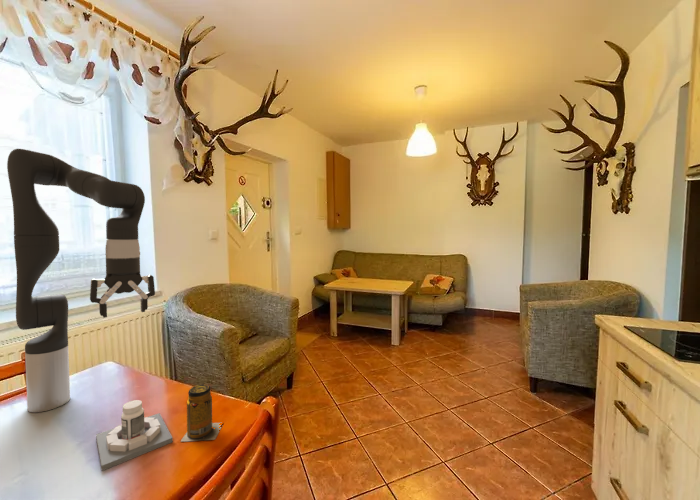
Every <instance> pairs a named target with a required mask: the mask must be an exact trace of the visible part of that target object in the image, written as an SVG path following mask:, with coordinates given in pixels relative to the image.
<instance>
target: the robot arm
mask: <svg viewBox="0 0 700 500" xmlns="http://www.w3.org/2000/svg"><path fill="white" fill-rule="evenodd" d="M6 169H7V175H8V176H7V177H8V183H9V188H10V195H11V200H12V210H13V244H14V248H13V249H14V257H15V259H14V260H15V268H16V295H15V296H16V297H15V320H16V325H17V328H19V329H20V330H22V331H23V330H24V331H25V330H26V331H27V330H34V329H38V328H40V329H41V328H46V327H51V328H50V329H49V330H47V331H45V333H43V334H41V335H39V336H36V337H33V338H32V339H30V340H27V342H26V343H25V345H24V355H25V356H24V357H25V376H26V383H25V384H26V401H27V402H26V405H27V406H26V407H27V411H28V412H30V413H41V412H45V411H47V412H48V411H51V410H53V409H56V408H58V407H61V406H64V404H67V403H68V402H69V401H70V400H71V390H70V389H71V387H70V362H69V361H70V356H69V355H70V354H69V334H68V333H69V332H68V324H69V302H68V301H69V300H68V298H67V296H66V295H64V294H60V293H59V294H48V295H38V296H32V295H33V291H34V288H35V287H36V284H37V282H38V281H39V279H40V278H41V277H42V275H43V274H44V272H45V271H46V270H47V269H48V268H49V266H51V264H52V263H53V262H54V261H55V259H56V258H57V256H58V254H59V253H60V236H59V235H60V232H59V228H58V226H57V224H56V223H55V221H54V220H53V219H52V218H51V216H50V215H49V214H48V212H46V210H45V209H44V208H43V206H42V205H41V203H40V201H39V199H38V197H37V193H36V188H35V185H41V186H56V187H66V188H68V189H69V190H70V191H72V192H73V193H75V194H76V195H80V196H82V197H85V198H88V199H91V200H92V201H94V202H96V203H98V204H99V205H101V206H104V207H107V208H112V209H121V212H120V214H119V215H118V216H115V217H109V218H108V219H107V220H106V223H105V226H106V227H105V231H106V233H105V239H106V240H105V248H104V249H105V277H104V278H92V279H91V280H90V290H89V292H90V293H89V300H90V302H91V303H95V304H98V305H99V309H98V310H99V315H100V317H103V319H104V318H105V319H106V318H107V317H108V304H107V301H108V300H109V299H110V298H111V297H112V296H113V295H114V294H116V295H117V294H124V293H127V294H128V293H133V292H136V293H137V294H138V296H140V297H141V298H140V312H141V313H145V312H146V310H148V307H149V304H148V300H149V298H150V297H154V296H155V295H156V290H155V279H154V276H153V275H152V274H148V275H141V258H140V257H141V251H140V250H141V248H140V242H139V224H140V220H141V217H142V213H143V211H144V207H145V202H146V198H145V193H144V191H143V190H142V187H140V186H139V185H137V184H134V183H129V182H128V183H127V182H121V181H116V180H111V179H109V178H108V177H106V176H104V175H101V174H97V173H95V172H91V171H89V170H88V171H87V170H83V169H80V168H77V167H74V166H73V165H70V164H69V163H68V162H66V161H64V160H62V159H60V158H59V157H57V156H53V155H52V154H47V153H43V152H37V151H34V150H30V149H29V150H28V149H25V148H15V149H12V150H11V151H10V152H9V155H8V157H7V162H6ZM142 281H144V283H146V284H147V292H144V291H143V289H141V288H140V287H139V285H140V284H142ZM102 284H105V286H107V287H108V288H107V289H106V290H105V291H104V293H103V294H102V295H101V297H98V288H101V286H102Z"/></svg>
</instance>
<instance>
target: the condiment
mask: <svg viewBox="0 0 700 500" xmlns="http://www.w3.org/2000/svg"><path fill="white" fill-rule="evenodd" d="M211 393H212V391H211V387H210V385H208V384H204V383H203V384H197V385H195V386H192V387H191V388H190V389H188V393H187V394H188V397H187V402H186V433H184V435H183V437H182V438H181V440H180V442H197V441H198V442H199V441H200V442H201V441H211V440H212V441H213V440H216V439H217V437H218V435H219V433H220V431H221V429H222V427H220V426H221V425H219V424H220V423H221V422H213V397H212V396H213V395H211ZM212 427H213V428H212ZM219 427H220V428H219ZM214 428H215V429H214ZM219 430H220V431H219Z"/></svg>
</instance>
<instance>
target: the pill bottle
mask: <svg viewBox="0 0 700 500" xmlns="http://www.w3.org/2000/svg"><path fill="white" fill-rule="evenodd" d="M122 405H123V406H122V414H121V416H120V419H121V425H122V439H125V440H130V439H133V438H135V437H138V436H141V435H143V434H144V432H145V427H144V417H145V409H144V408H143V401H142V400H139V399H135V400H130V401H128V402H126V403H124V404H122Z"/></svg>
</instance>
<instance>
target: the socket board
mask: <svg viewBox="0 0 700 500" xmlns="http://www.w3.org/2000/svg"><path fill="white" fill-rule="evenodd" d="M144 427H145V432H144V434H143V435H141V436H138V437H135V438H133V439H130V440H125V439H122V424H118V425H117V426H115V428H112V429H108V430H105V431H103V432H100V433H97V434H95V438H96V446H97V451H98V456H99V462H100V468H101V471H103V472H104V471H105V470H108V469H110V468H113V467H115V466H117V465H120V464H122V463H125V462H128V461H131V460H132V459H134V458H135V459H136V458H137V457H139V456H142V455H144V454H147V453H149V452H152V451H154V450H157V449H159V448H162V447H165V446H167V445H169V444H172V443H174V442H173V441H174V440H173V439H174V438H173V436H172V434H171V431H170V430H169V429H168V426H167V424H166V423H165V420H164V419H163V417H162V415H161V413H155V414H153V415H149V416H146V417H145V416H144Z"/></svg>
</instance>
